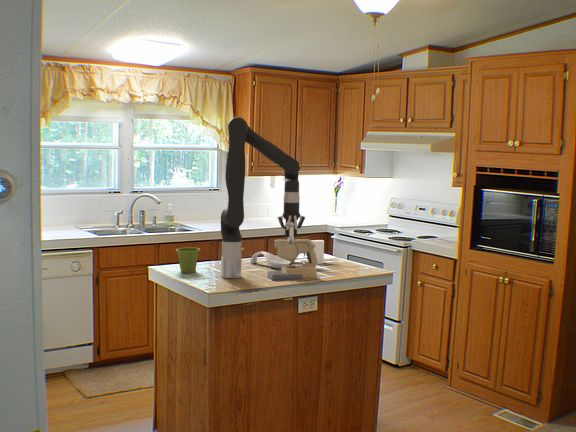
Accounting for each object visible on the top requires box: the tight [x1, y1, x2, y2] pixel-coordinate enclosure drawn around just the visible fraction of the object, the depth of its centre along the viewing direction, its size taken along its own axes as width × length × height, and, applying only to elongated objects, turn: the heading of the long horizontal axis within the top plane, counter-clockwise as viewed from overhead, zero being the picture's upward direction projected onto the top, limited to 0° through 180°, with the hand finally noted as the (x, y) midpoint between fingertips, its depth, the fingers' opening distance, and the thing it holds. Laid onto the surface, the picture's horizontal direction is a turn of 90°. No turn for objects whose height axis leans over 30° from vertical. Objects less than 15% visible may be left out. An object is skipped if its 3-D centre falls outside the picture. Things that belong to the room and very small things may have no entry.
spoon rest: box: [249, 251, 291, 270], centre depth 314 cm, size 24×12×7 cm, turn 55°
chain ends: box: [266, 264, 318, 281], centre depth 286 cm, size 22×9×5 cm, turn 106°
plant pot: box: [175, 247, 201, 274], centre depth 294 cm, size 12×12×11 cm
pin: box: [287, 222, 295, 244], centre depth 286 cm, size 4×4×10 cm
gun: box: [273, 239, 318, 268], centre depth 315 cm, size 24×3×15 cm, turn 59°
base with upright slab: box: [306, 239, 325, 265], centre depth 327 cm, size 9×9×12 cm
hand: (291, 236), depth 287 cm, fingers closed on pin, 3 cm apart
